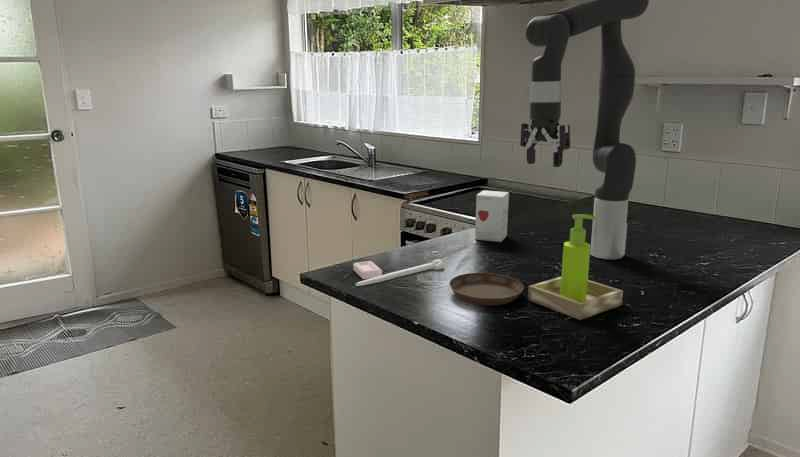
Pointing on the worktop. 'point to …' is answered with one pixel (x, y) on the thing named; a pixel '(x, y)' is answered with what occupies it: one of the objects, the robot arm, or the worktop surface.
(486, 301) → the plant saucer
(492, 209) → the supplement box
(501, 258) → the worktop surface
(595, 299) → the birch crate
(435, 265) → the white ball-headed stick
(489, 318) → the worktop surface
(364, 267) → the soap bar
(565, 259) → the soap dispenser
